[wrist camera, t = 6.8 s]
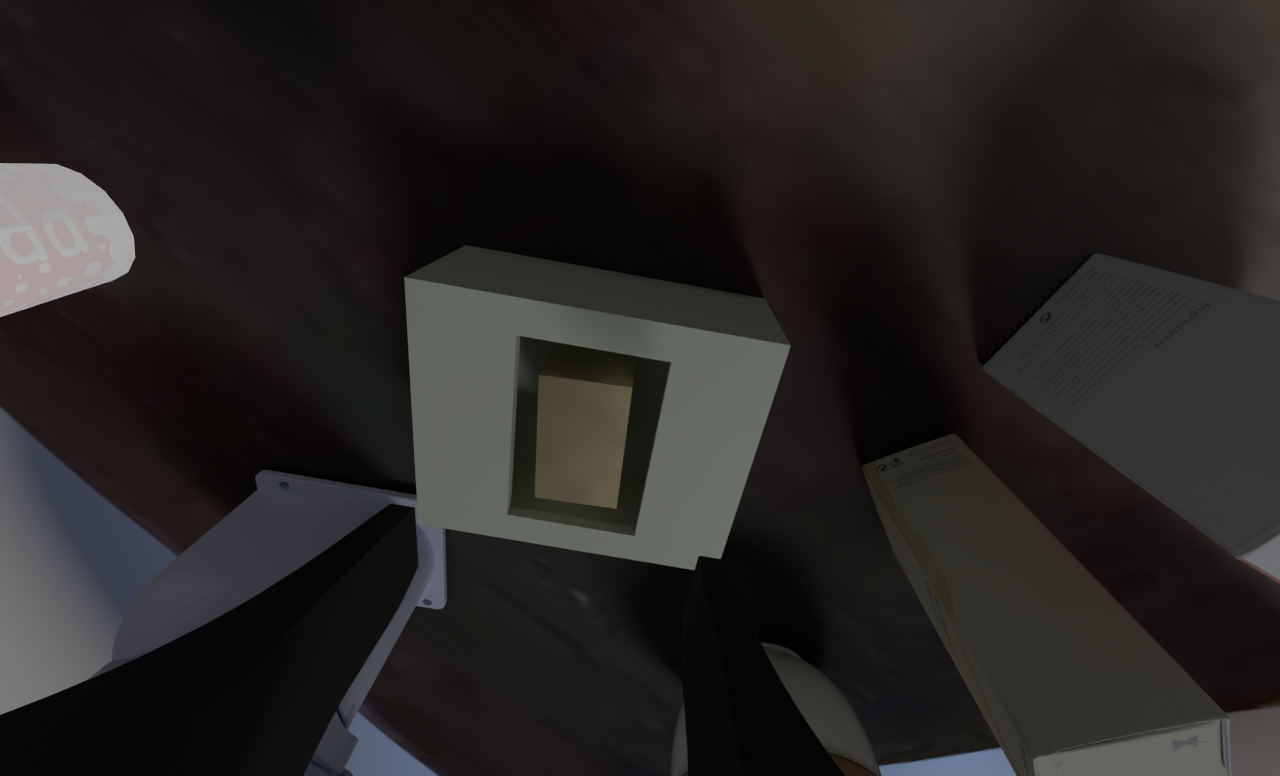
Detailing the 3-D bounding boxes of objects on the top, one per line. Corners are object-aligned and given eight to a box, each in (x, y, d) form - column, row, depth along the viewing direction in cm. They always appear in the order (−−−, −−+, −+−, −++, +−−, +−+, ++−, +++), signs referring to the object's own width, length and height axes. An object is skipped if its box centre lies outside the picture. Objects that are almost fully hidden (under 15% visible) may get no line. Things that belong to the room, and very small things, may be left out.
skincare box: (858, 462, 23) (1021, 752, 12) (958, 427, 22) (1238, 713, 11) (893, 554, 25) (1057, 865, 15) (986, 527, 24) (1238, 843, 13)
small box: (975, 365, 20) (1229, 558, 11) (1093, 246, 18) (1541, 363, 9) (1110, 451, 22) (1437, 685, 13) (1236, 350, 20) (1754, 547, 10)
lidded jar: (881, 685, 30) (961, 896, 22) (739, 743, 34) (760, 942, 25) (778, 587, 27) (826, 790, 19) (633, 663, 31) (618, 860, 22)
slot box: (465, 452, 24) (418, 523, 20) (465, 245, 20) (404, 277, 15) (708, 493, 24) (715, 573, 20) (764, 298, 20) (790, 345, 15)
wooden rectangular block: (562, 425, 22) (534, 497, 18) (568, 321, 20) (538, 374, 16) (628, 435, 22) (616, 509, 18) (641, 332, 20) (632, 387, 16)
